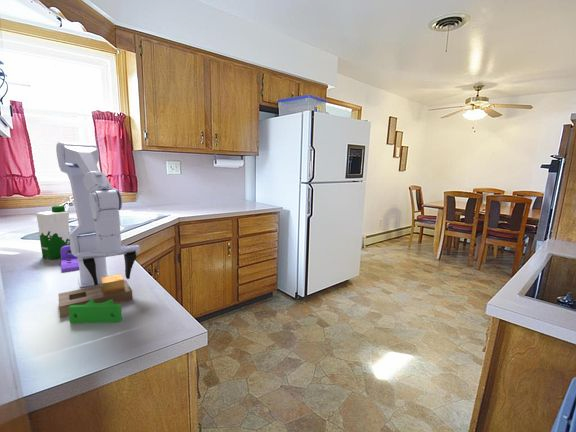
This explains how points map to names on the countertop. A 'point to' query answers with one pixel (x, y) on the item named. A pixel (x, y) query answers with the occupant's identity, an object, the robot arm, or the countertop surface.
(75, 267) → the bracket
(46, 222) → the milk carton
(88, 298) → the board
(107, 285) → the orange block
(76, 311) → the pipe clamp
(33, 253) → the countertop surface
